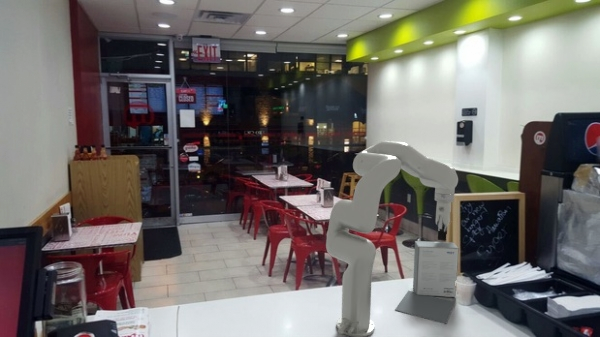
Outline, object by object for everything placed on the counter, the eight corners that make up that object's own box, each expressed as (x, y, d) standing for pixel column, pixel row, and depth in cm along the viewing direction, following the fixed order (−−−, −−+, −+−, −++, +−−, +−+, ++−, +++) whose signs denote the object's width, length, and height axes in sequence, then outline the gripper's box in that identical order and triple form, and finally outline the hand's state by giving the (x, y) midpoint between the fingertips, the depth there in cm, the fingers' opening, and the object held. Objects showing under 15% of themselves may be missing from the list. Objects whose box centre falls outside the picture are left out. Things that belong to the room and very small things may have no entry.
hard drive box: (450, 289, 164) (454, 242, 162) (456, 297, 157) (459, 248, 154) (412, 287, 166) (414, 240, 163) (415, 295, 158) (418, 246, 156)
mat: (446, 324, 138) (446, 323, 138) (394, 310, 147) (394, 309, 147) (455, 302, 154) (455, 301, 154) (408, 291, 162) (408, 290, 162)
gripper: (450, 201, 156) (448, 246, 159) (457, 194, 169) (454, 236, 172) (430, 199, 160) (428, 243, 163) (438, 192, 172) (436, 233, 176)
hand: (442, 239), depth 167 cm, fingers closed
